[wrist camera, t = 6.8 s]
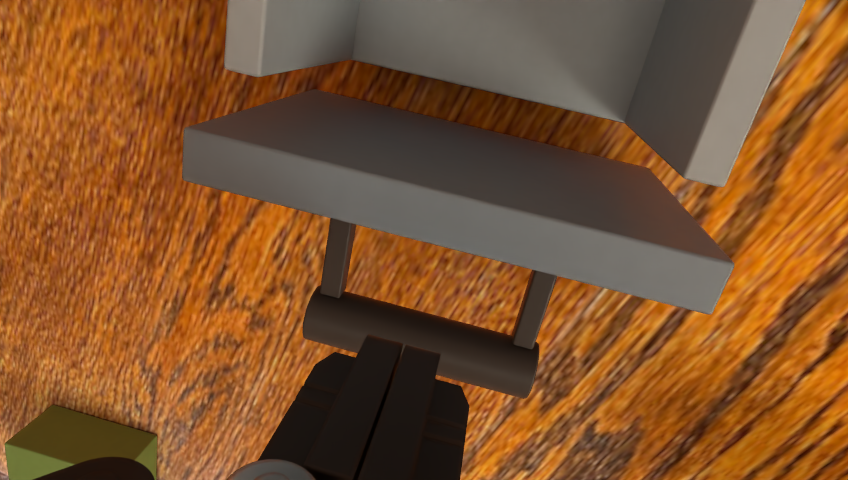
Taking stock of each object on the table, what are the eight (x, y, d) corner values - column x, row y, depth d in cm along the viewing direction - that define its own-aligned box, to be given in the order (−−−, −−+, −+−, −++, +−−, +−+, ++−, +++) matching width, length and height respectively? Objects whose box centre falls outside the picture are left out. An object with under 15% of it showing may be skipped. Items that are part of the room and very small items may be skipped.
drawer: (589, 329, 20) (626, 497, 13) (293, 252, 21) (174, 369, 14) (816, -276, 13) (1159, -626, 6) (366, -352, 14) (208, -740, 7)
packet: (157, 434, 27) (119, 478, 24) (156, 491, 28) (120, 537, 26) (52, 403, 27) (3, 443, 25) (57, 460, 29) (11, 503, 26)
